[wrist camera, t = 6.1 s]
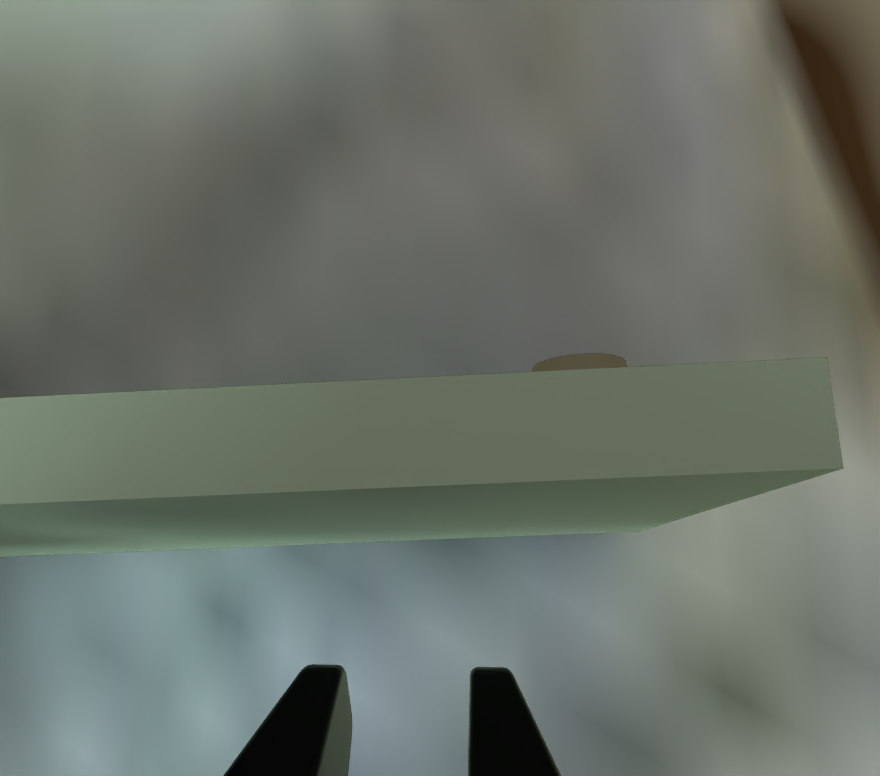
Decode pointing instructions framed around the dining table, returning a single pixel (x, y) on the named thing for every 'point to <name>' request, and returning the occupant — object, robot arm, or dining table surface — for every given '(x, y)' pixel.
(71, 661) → the dining table surface
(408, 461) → the door
